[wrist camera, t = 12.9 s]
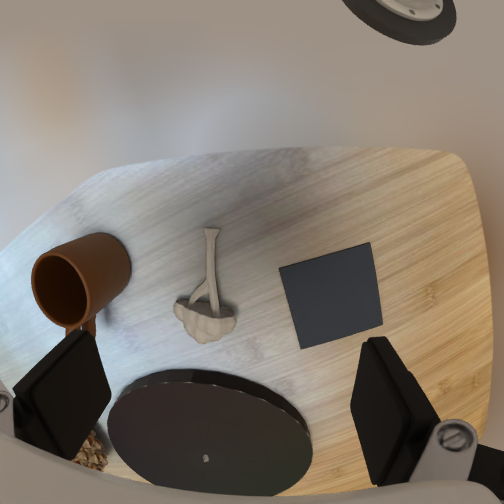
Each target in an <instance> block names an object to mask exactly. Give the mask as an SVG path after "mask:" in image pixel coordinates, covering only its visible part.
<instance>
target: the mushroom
mask: <svg viewBox="0 0 504 504" xmlns="http://www.w3.org/2000/svg"><path fill="white" fill-rule="evenodd" d="M220 230H221V229H213V228H203V231H204V233H205V236H206V280H205V281H204V283H203V284H202V285H201V286H200V287H199V288H197V289H196V291H195V292H194V293H193V295H192V296H191V298H190V300H186V299H180V300H176V302H175V303H174V305H173V306H174V314H175V316H176V317H177V318H178V319H179V320H181V321H183V324H184V328H185V330H186V332H187V334H188V335H190V336H191V337H192V338H194V339H195V340H196V341H197V342H198V343H200V344H206V343H207V342H214V341H218V340H219V339H221V338H222V337H223V336H224V335H225V334H228V333H230V332H232V331H233V329H234V328H235V326H236V322H237V319H236V317H235V315H234V313H233V311H232V310H231V309H229V308H227V307H224V306H219V303H218V295H217V288H216V280H215V270H214V250H215V237H216V236H217V234H218V233H219V231H220ZM204 294H209V299H210V304H209V303H205V302H199V301H196V300H197V299H198V298H199V297H201V296H202V295H204Z"/></svg>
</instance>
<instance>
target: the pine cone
mask: <svg viewBox="0 0 504 504" xmlns="http://www.w3.org/2000/svg"><path fill="white" fill-rule="evenodd" d="M104 450H105V447H104V446H103V445H102V442H100V441H99V440H97V439H96V433H95V432H94V431H93V429H92V431H91V432H90V434H89V436H88V437H87V439H86V441H85V442H84V444H83V446H82V447H81V449H80V451H79V452H78V454H77V456H76V457H75V459H73V460H71V462H74V463H77V464H80V465H82V466H85V467H88V468H91V469H95V470H98V471H101V472H104V470H103V468H104V467H105V466H106V465H107V464H108V462H107V460H106V458H107V456H106V455H105V454H103V453H101V452H103V451H104Z"/></svg>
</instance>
